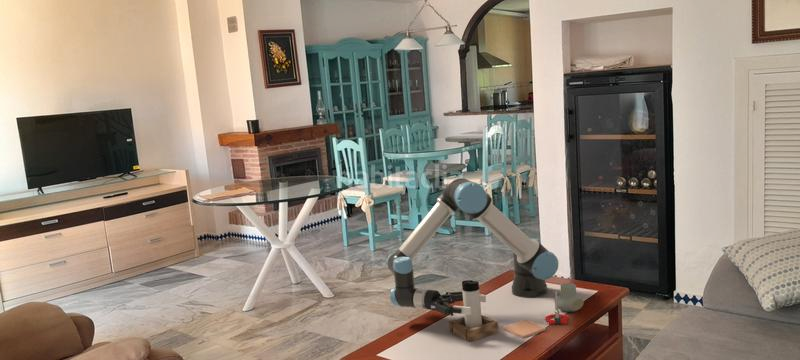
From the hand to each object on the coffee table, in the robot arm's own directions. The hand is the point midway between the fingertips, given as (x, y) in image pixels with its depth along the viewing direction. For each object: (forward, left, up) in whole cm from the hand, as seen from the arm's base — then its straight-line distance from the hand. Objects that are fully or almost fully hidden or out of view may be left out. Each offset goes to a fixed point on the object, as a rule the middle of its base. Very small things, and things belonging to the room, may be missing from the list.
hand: (478, 304), depth 237 cm
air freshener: (-40, +5, -11) cm, 42 cm away
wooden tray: (+1, -2, -11) cm, 11 cm away
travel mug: (+1, -2, -11) cm, 11 cm away
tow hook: (-29, +10, -11) cm, 32 cm away
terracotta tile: (-14, +9, -11) cm, 20 cm away
